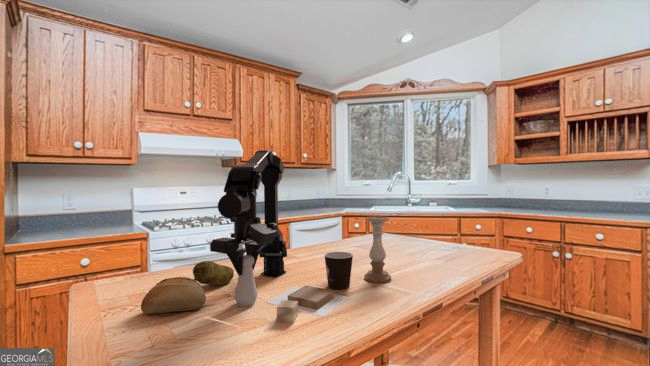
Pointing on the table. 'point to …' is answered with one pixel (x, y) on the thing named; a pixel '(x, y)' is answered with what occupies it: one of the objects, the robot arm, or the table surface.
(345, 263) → the coffee mug
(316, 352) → the table surface
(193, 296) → the bread roll
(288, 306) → the maple block
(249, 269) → the salt shaker
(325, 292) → the walnut base block
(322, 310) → the white flat rectangular panel
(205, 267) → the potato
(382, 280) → the candle holder
